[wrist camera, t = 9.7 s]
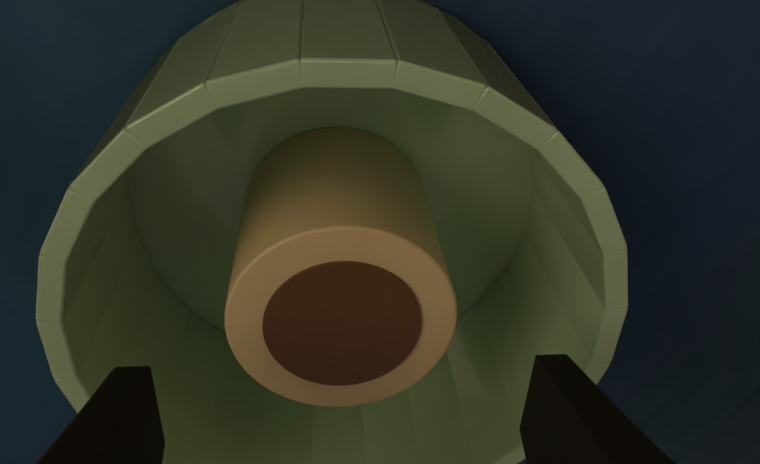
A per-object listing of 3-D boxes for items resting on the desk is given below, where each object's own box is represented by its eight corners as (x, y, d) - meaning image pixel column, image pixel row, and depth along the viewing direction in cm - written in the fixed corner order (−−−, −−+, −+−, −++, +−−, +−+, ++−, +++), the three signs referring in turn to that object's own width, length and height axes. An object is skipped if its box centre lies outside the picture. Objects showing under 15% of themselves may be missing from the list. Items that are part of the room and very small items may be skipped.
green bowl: (594, 261, 21) (687, 404, 15) (271, 406, 23) (259, 574, 18) (436, -119, 14) (503, -89, 9) (16, 129, 17) (-114, 262, 12)
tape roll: (452, 235, 19) (493, 355, 15) (305, 306, 20) (302, 438, 16) (372, 92, 16) (393, 187, 12) (208, 180, 17) (173, 297, 13)
